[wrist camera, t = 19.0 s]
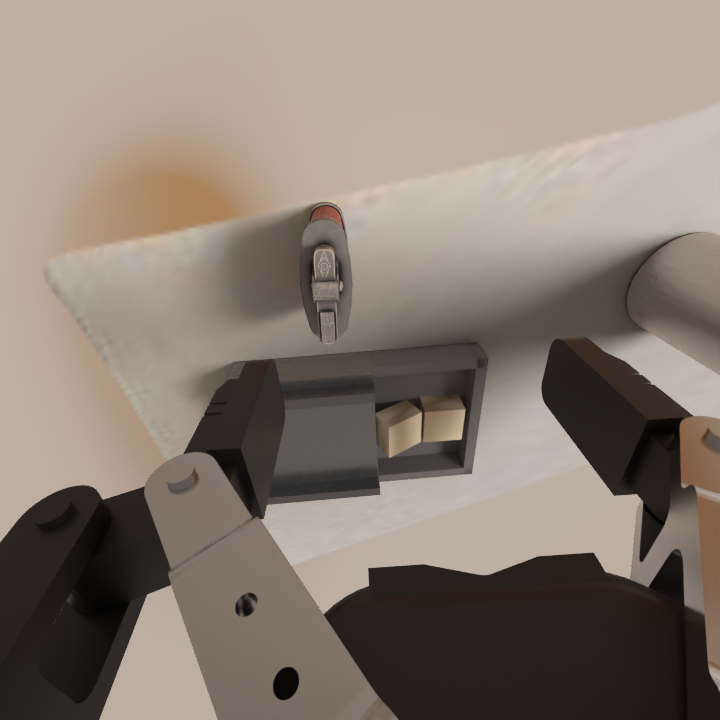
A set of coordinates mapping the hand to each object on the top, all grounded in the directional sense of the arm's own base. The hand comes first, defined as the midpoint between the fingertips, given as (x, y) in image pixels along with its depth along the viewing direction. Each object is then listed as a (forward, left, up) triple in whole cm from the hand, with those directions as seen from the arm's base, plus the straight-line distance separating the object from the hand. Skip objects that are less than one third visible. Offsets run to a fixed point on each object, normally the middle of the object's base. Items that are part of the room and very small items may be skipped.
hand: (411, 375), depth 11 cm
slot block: (+7, +19, -22) cm, 30 cm away
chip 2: (-7, +19, -19) cm, 28 cm away
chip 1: (-2, +19, -20) cm, 28 cm away
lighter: (+3, +2, -22) cm, 22 cm away
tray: (-5, +19, -22) cm, 29 cm away
